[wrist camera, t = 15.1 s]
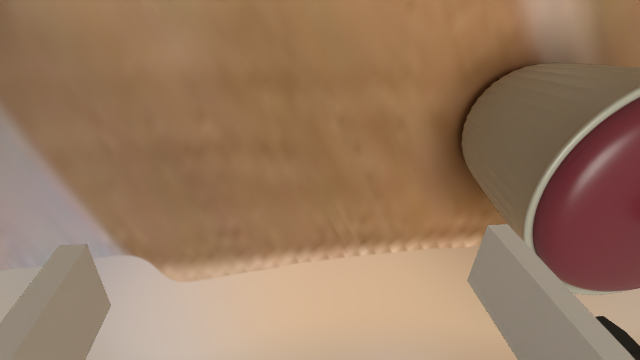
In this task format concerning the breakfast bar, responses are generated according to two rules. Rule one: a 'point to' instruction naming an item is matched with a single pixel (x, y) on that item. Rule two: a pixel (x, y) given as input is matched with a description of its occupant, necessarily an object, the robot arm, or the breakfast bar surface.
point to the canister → (565, 168)
